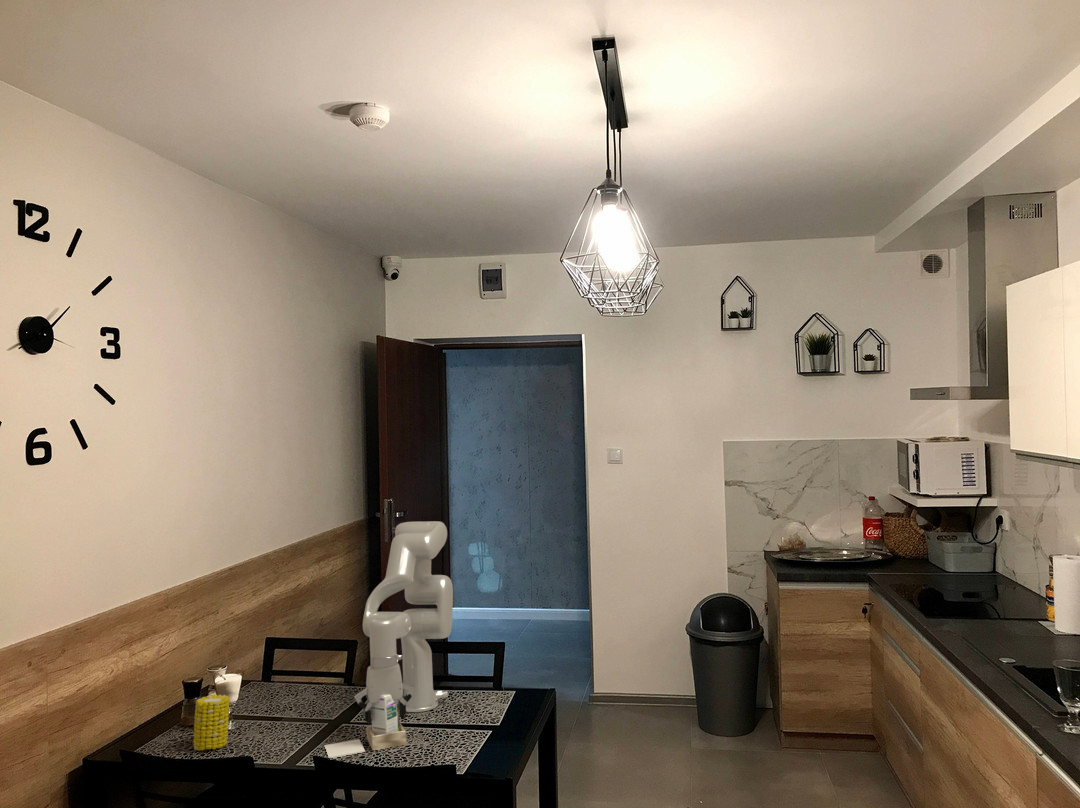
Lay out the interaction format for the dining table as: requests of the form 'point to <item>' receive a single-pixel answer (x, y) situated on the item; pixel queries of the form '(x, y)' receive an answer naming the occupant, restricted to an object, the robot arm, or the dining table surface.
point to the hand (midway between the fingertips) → (385, 720)
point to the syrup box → (385, 716)
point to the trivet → (344, 748)
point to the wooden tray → (386, 739)
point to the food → (211, 722)
